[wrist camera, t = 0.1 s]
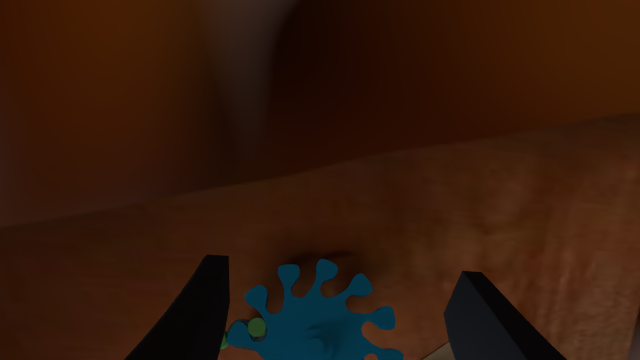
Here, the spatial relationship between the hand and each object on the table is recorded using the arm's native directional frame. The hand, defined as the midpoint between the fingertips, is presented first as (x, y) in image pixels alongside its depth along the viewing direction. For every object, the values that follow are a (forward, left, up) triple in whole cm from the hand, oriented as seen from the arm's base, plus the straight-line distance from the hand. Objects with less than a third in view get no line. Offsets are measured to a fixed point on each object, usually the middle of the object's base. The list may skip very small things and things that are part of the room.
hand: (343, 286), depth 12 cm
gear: (-8, -6, -11) cm, 15 cm away
